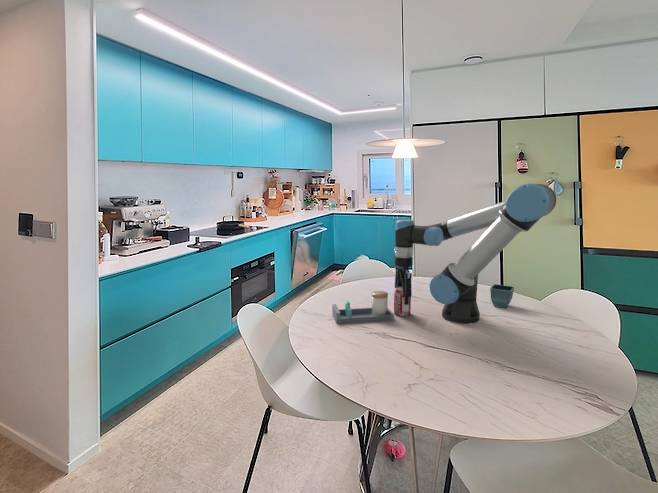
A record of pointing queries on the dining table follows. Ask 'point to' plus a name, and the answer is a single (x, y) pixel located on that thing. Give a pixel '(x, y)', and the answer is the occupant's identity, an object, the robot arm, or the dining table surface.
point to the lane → (359, 315)
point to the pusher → (348, 309)
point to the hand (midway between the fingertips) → (402, 308)
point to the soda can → (400, 302)
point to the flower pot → (501, 295)
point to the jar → (379, 303)
